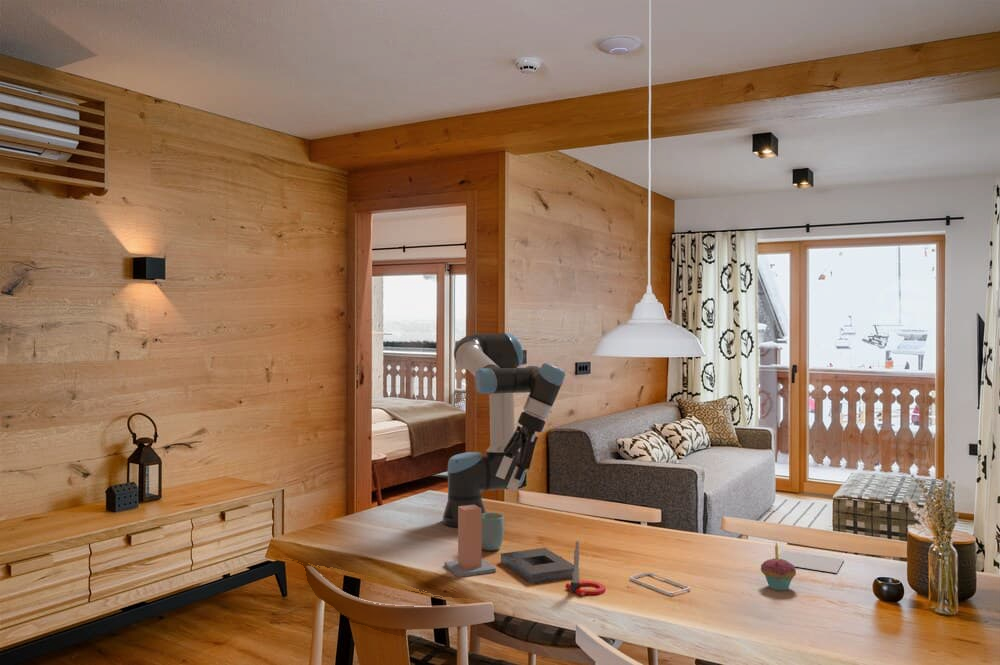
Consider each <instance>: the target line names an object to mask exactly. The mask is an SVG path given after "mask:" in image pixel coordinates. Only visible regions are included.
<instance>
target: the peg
mask: <svg viewBox="0 0 1000 665" xmlns="http://www.w3.org/2000/svg"><path fill="white" fill-rule="evenodd" d="M457 550H458V551H457V560H458V564H459V565H460V566H461V567H463V568H464V569H469V568H476V567H482V559H483V558H482V550H483V549H482V509H481V508H480V507H478V506H476V505H467V506H458V527H457Z"/></svg>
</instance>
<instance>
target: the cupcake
mask: <svg viewBox="0 0 1000 665" xmlns="http://www.w3.org/2000/svg"><path fill="white" fill-rule="evenodd" d="M778 547H779V545H778V544H777V542H775V545H774V552H775V554H774V555H775V557H774V558H771V559H767V560H765V561H764V562H762V564H761V565H760V571H761V572H762V574H763V575H764V576H765V579H766V581H767V585H768V588H770V589H771V590H775V591H787V590H789V588H790V585H791V582H792V580H793V578H795V576H796V575H797V569H796V567H795V566H793V565H792V564H791V563H789V562H787V561H786V560H783V559H779V558H778V556H779V548H778Z"/></svg>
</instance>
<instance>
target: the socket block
mask: <svg viewBox="0 0 1000 665" xmlns="http://www.w3.org/2000/svg"><path fill="white" fill-rule="evenodd" d="M501 562H502V564H503V565H504V566H505V565H506V567H507V568H508V567H509V568H508V569H510V570H511V569H512V570H513V572H514V573H515V572H516V573H515V574H517V575H518V576H519V575H520V577H521V578H522V577H523V578H522V579H523V580H525V579H526V580H527V582H528V581H529V582H530V583H529V582H528V583H529V584H531V583H535V584H540V583H539V582H542V583H547V582H546V581H548V582H555V581H560V580H561V581H562V580H567V579H572V577H573V572H574V563H572V562H571V561H569V560H567V559H565V558H563V557H562V556H560V555H559V554H557V553H555V552H553V551H552V550H549V549H548V548H547V547H541V548H534V549H533V548H532V549H526V550H525V549H524V550H517V551H510V552H509V551H508V552H502V553H500V563H501ZM512 570H511V571H512ZM578 572H579V573H580V567H579V568H578ZM526 580H525V581H526ZM554 580H555V581H554Z"/></svg>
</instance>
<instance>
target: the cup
mask: <svg viewBox="0 0 1000 665" xmlns="http://www.w3.org/2000/svg"><path fill="white" fill-rule="evenodd" d="M504 520H505V519H504V515H503V514H502V513H497V512H486V513H483V514H482V550H483V551H487V552H488V551H491V552H493V551H497V550H499V549H501V547H502V545H503V541H504V532H505V531H504V529H505V528H504V527H505V526H504V524H505V523H504V522H505V521H504Z"/></svg>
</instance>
